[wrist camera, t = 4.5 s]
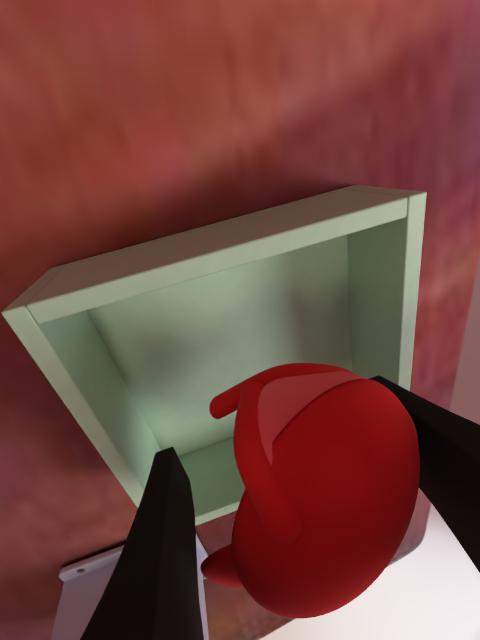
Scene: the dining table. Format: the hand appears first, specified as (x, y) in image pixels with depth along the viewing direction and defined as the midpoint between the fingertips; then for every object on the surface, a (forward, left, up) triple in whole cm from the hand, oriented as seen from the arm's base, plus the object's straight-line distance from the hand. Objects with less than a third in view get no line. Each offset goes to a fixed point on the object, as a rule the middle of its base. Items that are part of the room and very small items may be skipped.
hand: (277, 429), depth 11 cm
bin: (0, 0, -6) cm, 6 cm away
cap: (+1, 0, -1) cm, 1 cm away
